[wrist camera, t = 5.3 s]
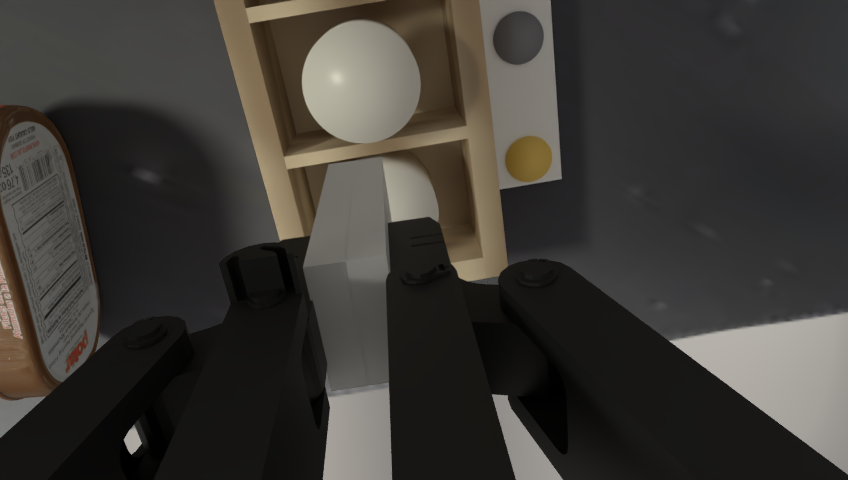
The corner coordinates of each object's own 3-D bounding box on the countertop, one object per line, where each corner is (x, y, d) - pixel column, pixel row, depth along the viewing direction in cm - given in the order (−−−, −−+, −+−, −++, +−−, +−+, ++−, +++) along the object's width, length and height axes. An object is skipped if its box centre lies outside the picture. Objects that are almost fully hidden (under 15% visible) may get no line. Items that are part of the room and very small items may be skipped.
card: (498, 187, 34) (500, 190, 34) (463, -135, 28) (464, -137, 27) (559, 176, 34) (562, 179, 34) (539, -148, 28) (541, -150, 27)
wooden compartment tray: (309, 267, 35) (299, 310, 31) (195, -169, 26) (158, -201, 22) (491, 236, 35) (508, 274, 31) (439, -210, 26) (452, -250, 22)
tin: (5, 88, 30) (-122, 125, 22) (70, 89, 30) (-34, 125, 23) (68, 340, 36) (-16, 437, 28) (122, 339, 36) (53, 435, 29)
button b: (324, 131, 29) (316, 152, 25) (300, 27, 27) (289, 33, 23) (422, 114, 29) (428, 133, 25) (406, 9, 27) (410, 13, 23)
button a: (352, 238, 33) (350, 268, 29) (334, 155, 31) (328, 176, 28) (438, 223, 33) (445, 251, 29) (424, 139, 31) (430, 159, 28)
